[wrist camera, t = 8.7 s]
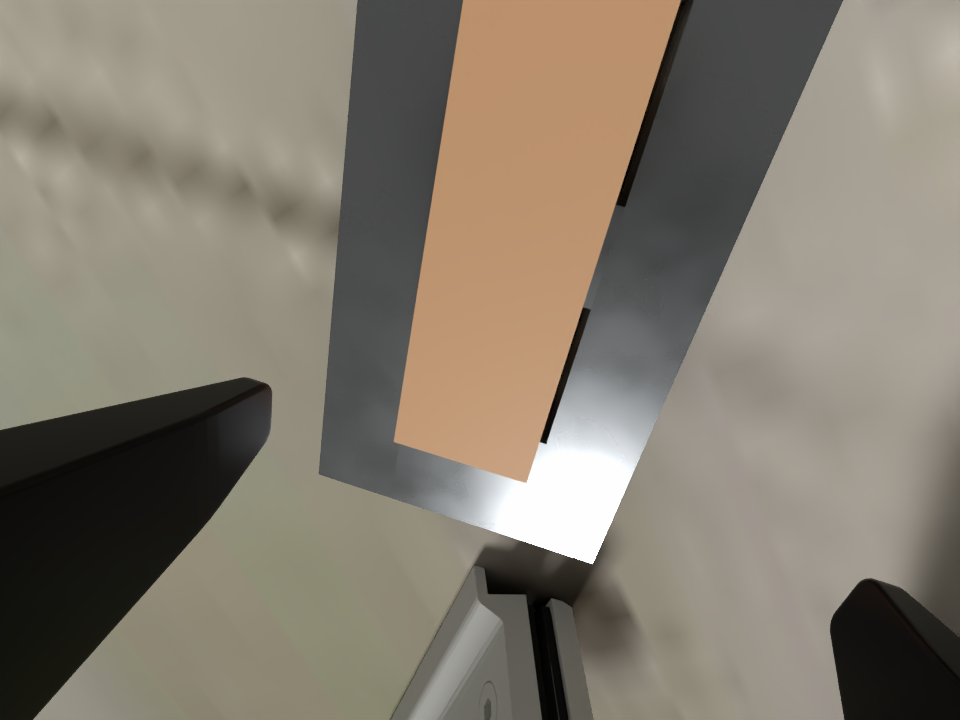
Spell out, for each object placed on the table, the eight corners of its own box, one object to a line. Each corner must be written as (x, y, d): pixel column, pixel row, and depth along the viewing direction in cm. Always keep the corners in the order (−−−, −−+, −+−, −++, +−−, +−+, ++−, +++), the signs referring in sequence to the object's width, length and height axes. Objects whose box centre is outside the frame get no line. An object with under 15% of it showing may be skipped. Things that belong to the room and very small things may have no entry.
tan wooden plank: (660, 22, 15) (690, -30, 9) (548, 385, 20) (526, 483, 15) (521, -8, 15) (474, -73, 10) (449, 356, 20) (393, 441, 15)
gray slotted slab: (889, -198, 12) (970, -287, 9) (594, 509, 22) (592, 564, 19) (433, -273, 13) (388, -372, 10) (351, 432, 23) (318, 474, 21)
